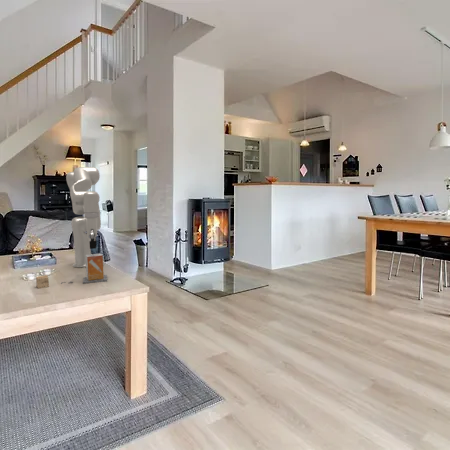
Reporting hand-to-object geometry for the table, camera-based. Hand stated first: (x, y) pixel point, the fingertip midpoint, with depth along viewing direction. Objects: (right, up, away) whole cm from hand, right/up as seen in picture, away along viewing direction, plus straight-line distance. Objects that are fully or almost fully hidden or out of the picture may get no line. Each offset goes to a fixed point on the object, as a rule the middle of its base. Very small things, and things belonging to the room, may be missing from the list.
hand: (93, 246), depth 186 cm
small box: (+1, -18, +1) cm, 18 cm away
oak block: (-22, -20, -11) cm, 31 cm away
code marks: (-12, -19, -4) cm, 23 cm away
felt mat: (+1, -18, +1) cm, 18 cm away
